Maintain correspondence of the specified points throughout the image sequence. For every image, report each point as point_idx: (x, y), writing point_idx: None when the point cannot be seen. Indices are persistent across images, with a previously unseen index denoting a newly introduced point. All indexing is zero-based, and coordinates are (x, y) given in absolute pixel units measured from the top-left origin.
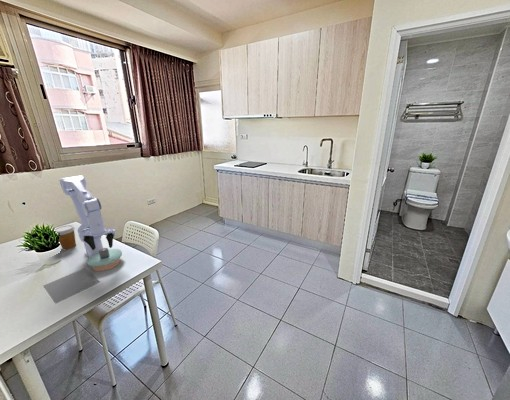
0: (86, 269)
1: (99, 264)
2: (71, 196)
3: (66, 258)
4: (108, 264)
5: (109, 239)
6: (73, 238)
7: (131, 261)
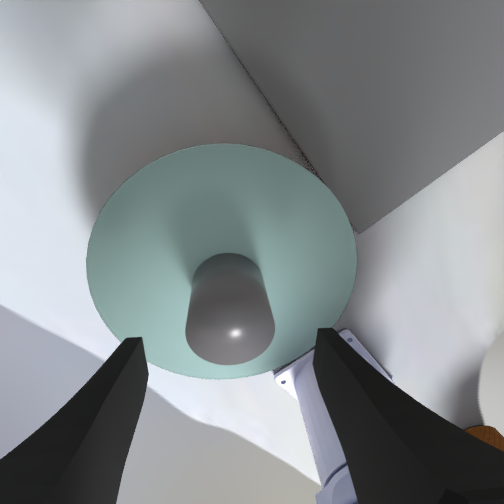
0: (345, 210)
1: (228, 158)
2: None
3: (473, 355)
4: None
5: (13, 471)
6: None
7: (49, 248)
